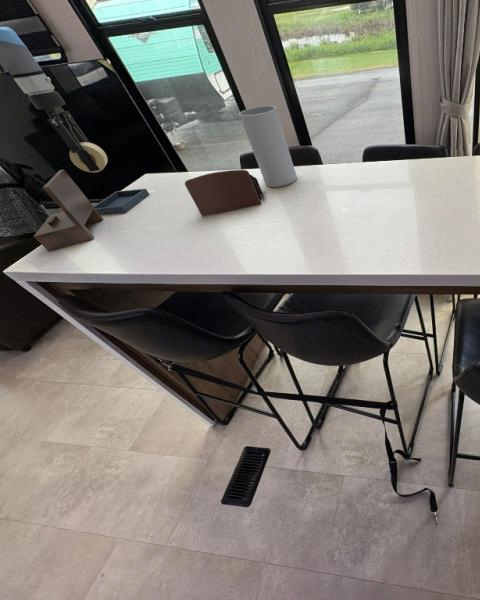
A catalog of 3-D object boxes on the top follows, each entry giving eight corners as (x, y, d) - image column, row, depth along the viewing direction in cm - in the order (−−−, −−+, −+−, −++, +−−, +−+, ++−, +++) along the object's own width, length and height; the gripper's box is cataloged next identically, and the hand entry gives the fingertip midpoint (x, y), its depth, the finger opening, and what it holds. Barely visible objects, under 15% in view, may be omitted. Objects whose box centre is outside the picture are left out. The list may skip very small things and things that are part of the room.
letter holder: (263, 208, 111) (246, 167, 101) (203, 220, 108) (180, 179, 98) (264, 197, 118) (248, 157, 108) (208, 208, 115) (187, 168, 106)
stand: (52, 255, 99) (-6, 198, 86) (67, 233, 110) (17, 178, 97) (97, 244, 102) (47, 186, 89) (106, 223, 113) (63, 169, 100)
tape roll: (82, 175, 113) (61, 148, 107) (85, 171, 116) (65, 145, 110) (111, 169, 115) (92, 142, 109) (113, 165, 118) (95, 139, 112)
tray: (126, 212, 118) (121, 206, 117) (93, 215, 119) (88, 209, 117) (149, 194, 130) (145, 188, 128) (120, 197, 130) (116, 191, 129)
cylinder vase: (269, 177, 132) (243, 108, 115) (299, 173, 132) (278, 104, 116) (263, 189, 123) (234, 117, 106) (295, 185, 123) (272, 112, 106)
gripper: (46, 94, 94) (103, 173, 110) (63, 86, 106) (113, 158, 122) (15, 99, 92) (78, 178, 108) (36, 90, 104) (90, 163, 120)
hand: (96, 168), depth 115 cm, fingers closed on tape roll, 5 cm apart
